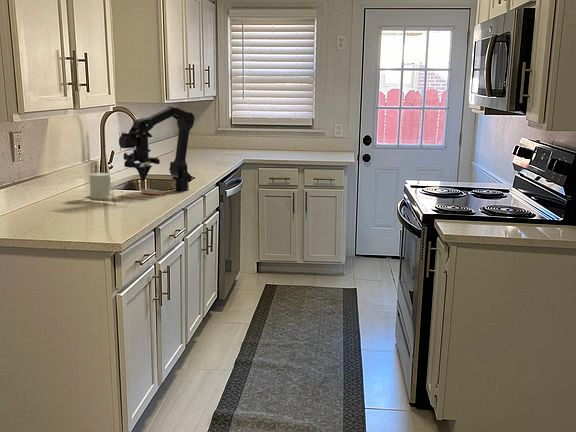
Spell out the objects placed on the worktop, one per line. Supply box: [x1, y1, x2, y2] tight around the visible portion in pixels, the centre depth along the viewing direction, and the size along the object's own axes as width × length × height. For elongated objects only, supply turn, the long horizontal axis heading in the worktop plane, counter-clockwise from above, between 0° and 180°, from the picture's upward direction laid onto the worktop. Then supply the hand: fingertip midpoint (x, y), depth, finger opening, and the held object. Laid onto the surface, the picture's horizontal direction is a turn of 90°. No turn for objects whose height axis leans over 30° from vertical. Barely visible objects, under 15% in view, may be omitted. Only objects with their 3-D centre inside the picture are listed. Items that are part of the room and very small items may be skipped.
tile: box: [140, 188, 167, 195], centre depth 278 cm, size 2×8×9 cm
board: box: [115, 191, 167, 202], centre depth 270 cm, size 15×18×1 cm
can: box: [88, 172, 112, 202], centre depth 266 cm, size 9×9×12 cm
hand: (143, 180), depth 270 cm, fingers closed
